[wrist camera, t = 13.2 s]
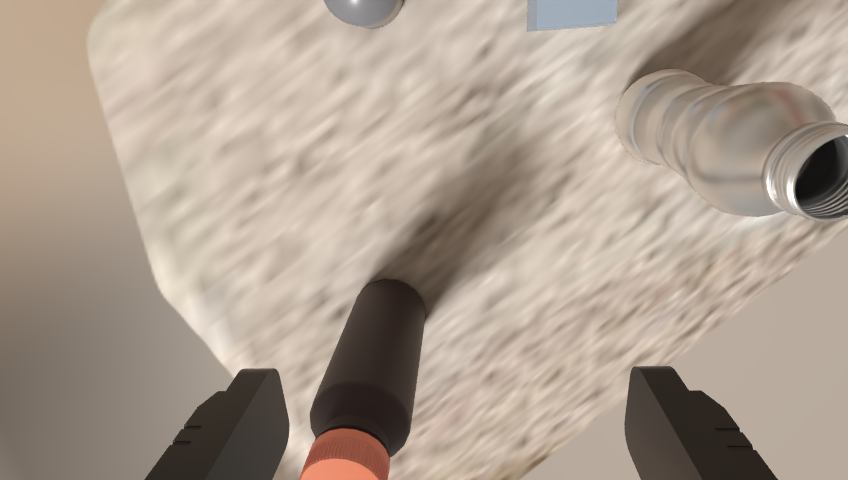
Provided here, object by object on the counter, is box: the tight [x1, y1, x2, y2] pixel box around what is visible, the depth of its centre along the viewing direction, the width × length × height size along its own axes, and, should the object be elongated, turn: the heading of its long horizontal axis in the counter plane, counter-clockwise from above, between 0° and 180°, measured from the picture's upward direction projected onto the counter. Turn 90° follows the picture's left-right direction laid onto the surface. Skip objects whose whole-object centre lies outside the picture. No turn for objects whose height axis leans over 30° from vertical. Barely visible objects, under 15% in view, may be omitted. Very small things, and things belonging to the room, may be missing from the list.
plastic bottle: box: [615, 69, 848, 222], centre depth 27 cm, size 6×7×20 cm
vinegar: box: [300, 280, 425, 480], centre depth 36 cm, size 7×7×20 cm
